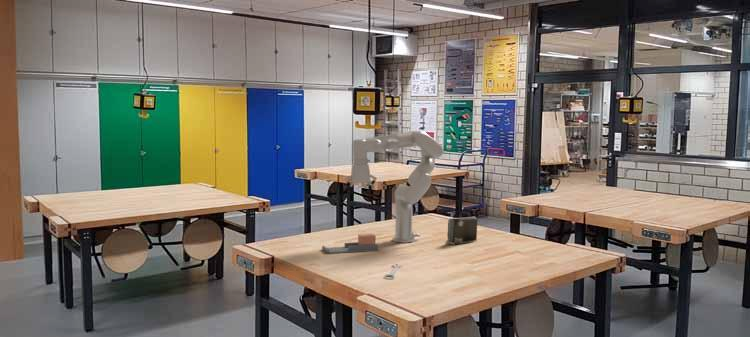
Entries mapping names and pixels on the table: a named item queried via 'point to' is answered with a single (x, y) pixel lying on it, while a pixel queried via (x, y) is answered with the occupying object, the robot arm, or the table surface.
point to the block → (366, 239)
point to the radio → (462, 230)
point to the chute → (351, 248)
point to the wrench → (393, 271)
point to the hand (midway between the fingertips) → (361, 193)
